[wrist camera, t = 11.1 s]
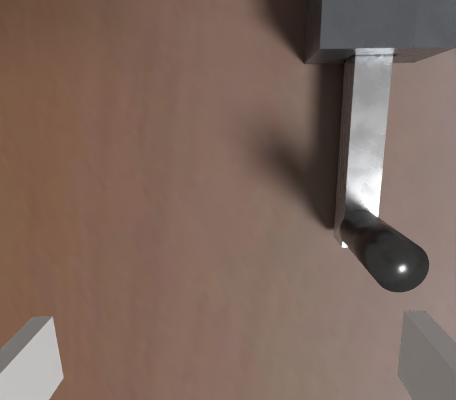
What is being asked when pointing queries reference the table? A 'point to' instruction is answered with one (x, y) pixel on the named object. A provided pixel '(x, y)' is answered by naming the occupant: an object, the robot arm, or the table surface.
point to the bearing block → (378, 29)
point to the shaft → (370, 179)
